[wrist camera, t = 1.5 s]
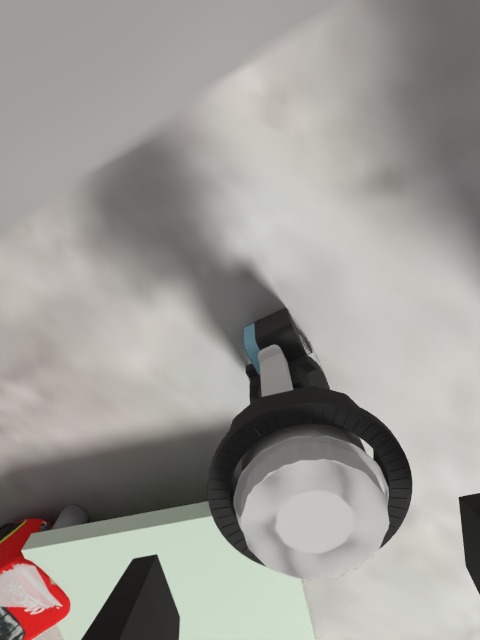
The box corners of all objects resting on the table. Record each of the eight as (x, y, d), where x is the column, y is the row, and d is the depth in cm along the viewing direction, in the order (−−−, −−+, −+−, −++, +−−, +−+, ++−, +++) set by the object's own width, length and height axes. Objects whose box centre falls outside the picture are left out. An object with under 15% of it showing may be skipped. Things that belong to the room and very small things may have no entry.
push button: (369, 408, 21) (473, 601, 11) (267, 451, 21) (283, 664, 12) (313, 285, 19) (379, 387, 9) (204, 336, 20) (164, 478, 10)
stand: (277, 461, 22) (281, 503, 19) (319, 636, 25) (329, 695, 22) (49, 504, 23) (20, 550, 20) (120, 667, 26) (105, 726, 23)
